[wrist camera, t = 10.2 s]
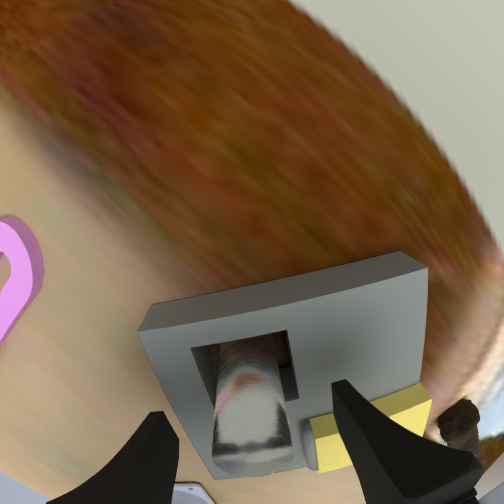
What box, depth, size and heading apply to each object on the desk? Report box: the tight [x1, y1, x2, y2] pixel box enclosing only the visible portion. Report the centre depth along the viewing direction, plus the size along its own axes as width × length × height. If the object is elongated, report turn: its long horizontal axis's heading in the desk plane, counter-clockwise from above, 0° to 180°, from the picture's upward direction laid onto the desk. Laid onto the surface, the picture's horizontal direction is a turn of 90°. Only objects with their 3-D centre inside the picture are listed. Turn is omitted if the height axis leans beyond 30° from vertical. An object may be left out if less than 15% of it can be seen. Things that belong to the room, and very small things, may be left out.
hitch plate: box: [137, 251, 428, 480], centre depth 16 cm, size 14×13×3 cm
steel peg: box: [212, 333, 295, 477], centre depth 13 cm, size 3×3×8 cm
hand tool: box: [437, 399, 483, 465], centre depth 20 cm, size 19×4×5 cm, turn 33°
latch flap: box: [301, 383, 432, 473], centre depth 15 cm, size 8×4×2 cm, turn 102°
